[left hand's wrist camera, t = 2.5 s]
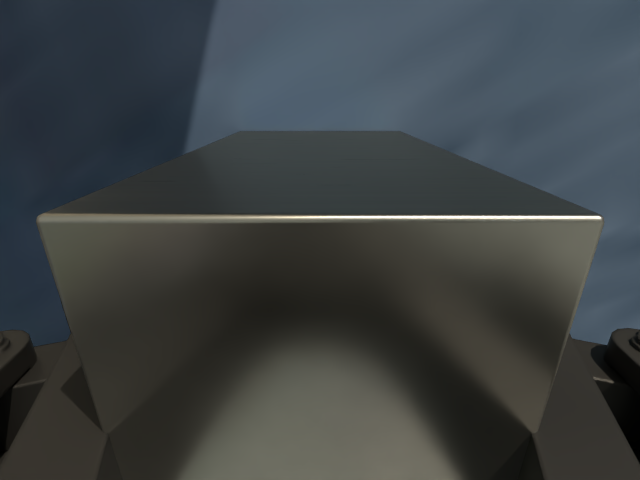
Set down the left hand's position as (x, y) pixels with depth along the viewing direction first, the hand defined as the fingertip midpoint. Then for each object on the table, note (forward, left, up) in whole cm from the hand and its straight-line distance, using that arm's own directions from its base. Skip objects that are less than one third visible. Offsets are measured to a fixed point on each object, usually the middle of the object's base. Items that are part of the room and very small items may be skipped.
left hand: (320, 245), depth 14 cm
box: (+3, +6, -1) cm, 7 cm away
